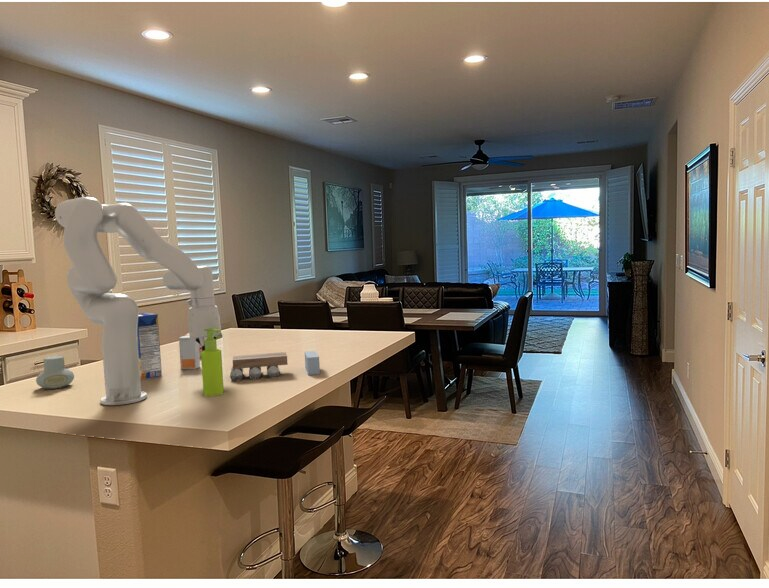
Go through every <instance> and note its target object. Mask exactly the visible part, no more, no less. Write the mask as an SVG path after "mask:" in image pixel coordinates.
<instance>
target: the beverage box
mask: <svg viewBox="0 0 769 588" xmlns="http://www.w3.org/2000/svg"><path fill="white" fill-rule="evenodd" d="M158 317H159V316H158V313H150V312H139V316H138V324H137V341H138V354H139V368H140V380H141V379H144V380H147V379H148V378H149V379H154V378H160V377H163V373H162V359H161V346H160V345H161V343H160V330H159V329H160V328H159V318H158ZM149 379H148V380H149Z"/></svg>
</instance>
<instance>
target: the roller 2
mask: <svg viewBox="0 0 769 588" xmlns="http://www.w3.org/2000/svg"><path fill="white" fill-rule="evenodd" d="M266 374H267V376H268V377H269V378H270V379H275V378H274V377H276V378H278V377H279V375H280V368H279V365H278V366H266Z"/></svg>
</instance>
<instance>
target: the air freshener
mask: <svg viewBox="0 0 769 588" xmlns="http://www.w3.org/2000/svg"><path fill="white" fill-rule="evenodd" d="M65 366H66V365H65V357H64V356H63V355H55V356H48V357H45V358H44V359H43V369H44V371H41V372H40V373H39V374H38V375H36V379H35V382H36V384H37V385H38V386H39V387H41V388H43V389H48V390H57V388H59V389H62V388H64V387H67V386H68V385H69V384H71V383H72V382H73V381H74V379H75V374H74V372H73V371H72V370H70V369H68V368H66V367H65Z"/></svg>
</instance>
